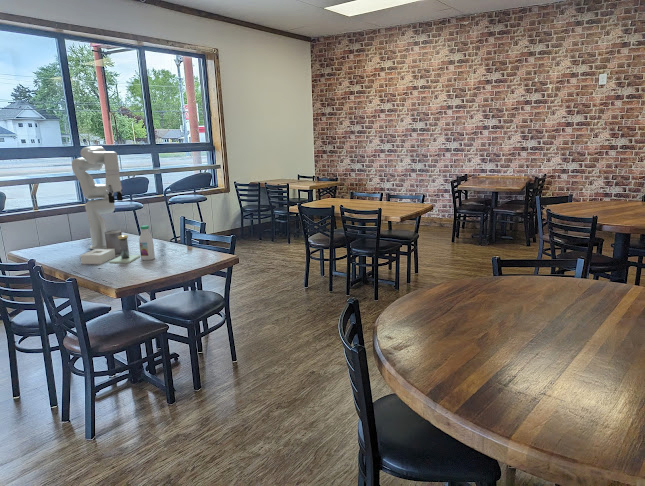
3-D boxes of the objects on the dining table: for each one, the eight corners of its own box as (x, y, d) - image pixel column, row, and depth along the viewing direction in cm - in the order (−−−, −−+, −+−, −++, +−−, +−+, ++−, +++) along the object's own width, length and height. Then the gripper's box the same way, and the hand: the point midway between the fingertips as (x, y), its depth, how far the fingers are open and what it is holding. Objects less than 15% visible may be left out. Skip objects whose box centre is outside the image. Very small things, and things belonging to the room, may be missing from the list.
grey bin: (113, 250, 293) (110, 227, 289) (127, 251, 291) (124, 228, 287) (103, 254, 284) (100, 231, 280) (117, 254, 282) (114, 231, 278)
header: (96, 256, 278) (95, 248, 277) (115, 256, 277) (114, 248, 276) (81, 263, 262) (80, 255, 261) (101, 263, 262) (100, 255, 260)
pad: (121, 257, 276) (120, 255, 276) (140, 256, 275) (140, 255, 275) (109, 263, 262) (109, 261, 262) (129, 263, 262) (129, 261, 261)
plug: (123, 256, 272) (120, 235, 269) (132, 256, 272) (129, 235, 269) (118, 259, 267) (115, 237, 264) (127, 259, 266) (124, 237, 264)
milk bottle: (151, 256, 275) (148, 224, 271) (157, 258, 270) (153, 225, 266) (139, 259, 270) (135, 226, 266) (144, 261, 265) (140, 227, 260)
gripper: (113, 172, 277) (117, 199, 281) (98, 174, 260) (102, 203, 264) (125, 171, 277) (128, 199, 281) (111, 173, 260) (115, 203, 264)
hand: (116, 201), depth 273 cm, fingers open, 9 cm apart
